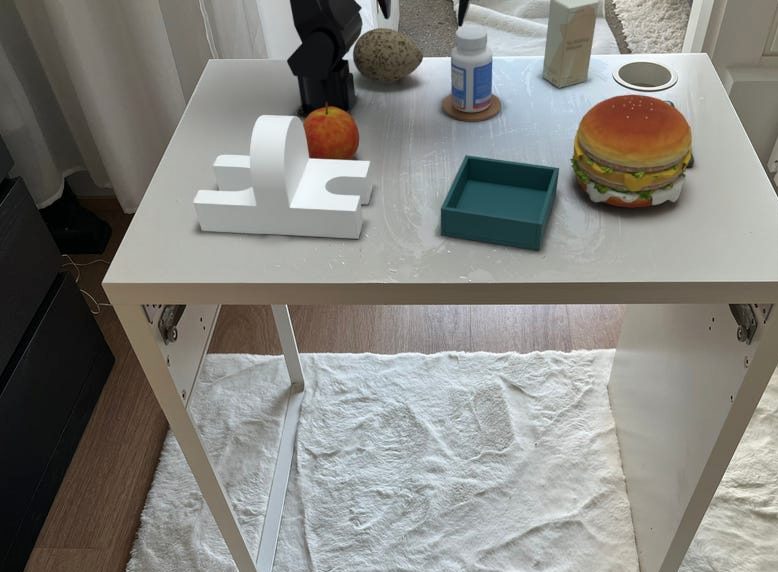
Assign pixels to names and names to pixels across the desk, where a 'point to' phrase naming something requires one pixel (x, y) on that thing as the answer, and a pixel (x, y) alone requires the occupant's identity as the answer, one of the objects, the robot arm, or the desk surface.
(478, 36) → the pill bottle
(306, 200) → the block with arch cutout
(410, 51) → the decorative egg
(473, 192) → the bin
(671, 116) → the burger
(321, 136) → the fruit
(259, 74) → the desk surface
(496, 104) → the coaster
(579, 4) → the box
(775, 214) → the desk surface
